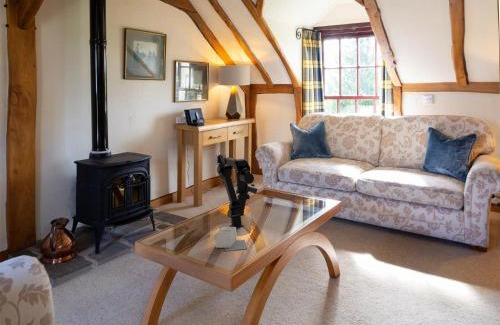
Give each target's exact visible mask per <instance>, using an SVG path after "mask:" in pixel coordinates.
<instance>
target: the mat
mask: <svg viewBox="0 0 500 325" xmlns="http://www.w3.org/2000/svg"><path fill="white" fill-rule="evenodd" d="M242 250H243V251H244V250H248V247H247V242H246V240H245V239H237V240H236V241H235V242H234V243H233V245H232V246H231V247H230V248H224V252H234V251H242Z"/></svg>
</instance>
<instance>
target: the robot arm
mask: <svg viewBox="0 0 500 325" xmlns="http://www.w3.org/2000/svg"><path fill="white" fill-rule="evenodd" d="M233 169H234V170H235V171H234V173H235V179H236V181H235V182H236V189H235V186H234V183H233V180H232V173H233V171H232V170H233ZM251 171H252V170H251V166H250V164H249V161H247V159H246V158H239V159H236V158H232V157H230V156H229V157H223V158H222V159H221V161H220V162H219V163H218V165H217V167H216V172H217V174H218V177H219V178H220V179H221V180H222V181H223V184H224V187H225V191H226V194H227V197H228V200H229V203H228V204H229V205H228V210H227V212H226V214H227V217H228V218H230V224H229V226H228V227H236V229H239V228H241V227H244V226H245V224H242V217H243V216H245V209H246V204H247V200H250V193H253V195H255V194H256V195H257V193H258V190H259V189H258V187H257V186H255V184H254V181H255V176H254V174H253V173H251Z"/></svg>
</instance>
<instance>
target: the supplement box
mask: <svg viewBox="0 0 500 325" xmlns="http://www.w3.org/2000/svg"><path fill="white" fill-rule="evenodd" d="M237 238H238V237H237V228H236V227H230V226H222V227H221V228H220V229H219V230H218V231H216V233H215V234H214V240H215V241H214V242H215V248H216V249H218V248H219V249H222V248H223V249H225V248H230V247H231V246H232V245H233V243H234V242H235V241H236V240H238V239H237Z"/></svg>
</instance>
